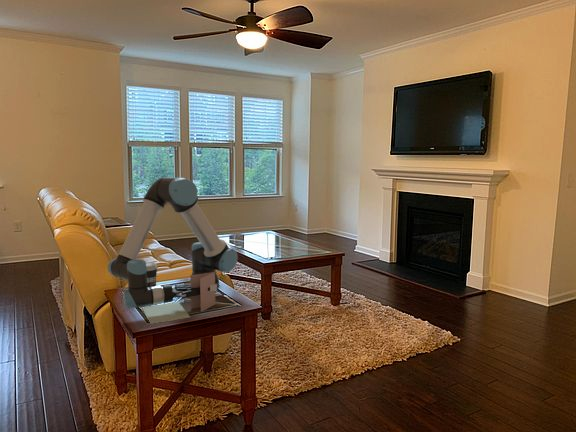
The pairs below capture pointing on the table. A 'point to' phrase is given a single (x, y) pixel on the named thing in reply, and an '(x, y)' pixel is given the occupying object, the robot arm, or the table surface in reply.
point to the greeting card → (203, 290)
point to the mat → (165, 312)
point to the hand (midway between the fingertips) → (215, 286)
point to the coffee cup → (151, 274)
